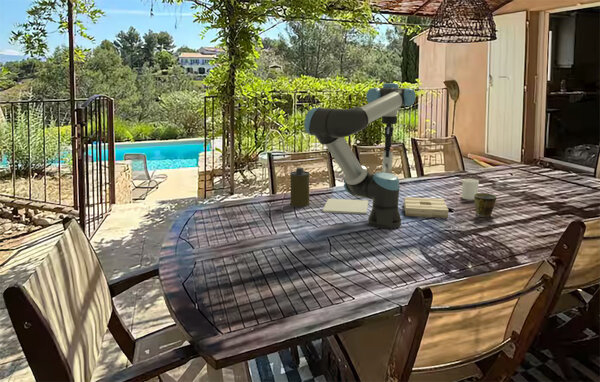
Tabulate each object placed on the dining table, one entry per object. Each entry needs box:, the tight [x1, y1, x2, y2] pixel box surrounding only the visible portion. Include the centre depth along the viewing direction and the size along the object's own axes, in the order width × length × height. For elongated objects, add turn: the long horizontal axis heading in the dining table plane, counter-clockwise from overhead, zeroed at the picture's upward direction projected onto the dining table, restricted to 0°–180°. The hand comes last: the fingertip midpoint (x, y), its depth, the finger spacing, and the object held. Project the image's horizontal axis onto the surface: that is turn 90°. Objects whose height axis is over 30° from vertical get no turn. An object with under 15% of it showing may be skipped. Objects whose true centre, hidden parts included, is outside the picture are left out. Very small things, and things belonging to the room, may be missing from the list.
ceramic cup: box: [474, 192, 497, 218], centre depth 216 cm, size 13×10×10 cm
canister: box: [289, 167, 311, 208], centre depth 236 cm, size 11×10×20 cm
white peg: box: [381, 146, 394, 174], centre depth 223 cm, size 5×5×13 cm
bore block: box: [403, 196, 449, 219], centre depth 225 cm, size 20×20×4 cm
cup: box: [461, 178, 479, 201], centre depth 249 cm, size 8×12×10 cm
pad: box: [322, 198, 369, 215], centre depth 233 cm, size 22×22×1 cm
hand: (387, 162), depth 223 cm, fingers closed on white peg, 5 cm apart
